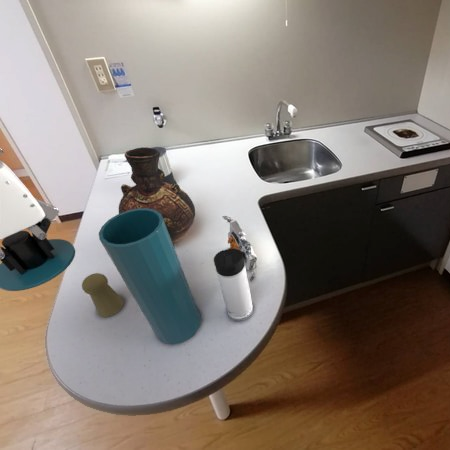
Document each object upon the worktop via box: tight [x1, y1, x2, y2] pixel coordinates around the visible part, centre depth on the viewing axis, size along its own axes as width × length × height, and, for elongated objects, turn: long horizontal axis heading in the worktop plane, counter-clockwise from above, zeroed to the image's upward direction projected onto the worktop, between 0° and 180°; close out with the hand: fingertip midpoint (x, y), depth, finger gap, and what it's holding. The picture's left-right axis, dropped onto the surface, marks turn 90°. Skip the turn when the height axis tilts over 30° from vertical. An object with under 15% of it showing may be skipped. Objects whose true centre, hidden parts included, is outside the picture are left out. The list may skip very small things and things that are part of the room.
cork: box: [81, 272, 125, 318], centre depth 75 cm, size 6×6×11 cm
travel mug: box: [213, 248, 254, 322], centre depth 71 cm, size 6×7×20 cm
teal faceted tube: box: [98, 208, 202, 345], centre depth 64 cm, size 10×10×32 cm
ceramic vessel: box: [118, 146, 196, 244], centre depth 89 cm, size 21×18×30 cm
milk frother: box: [130, 146, 178, 184], centre depth 114 cm, size 14×16×15 cm
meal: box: [222, 215, 258, 281], centre depth 85 cm, size 15×4×13 cm, turn 35°
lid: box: [0, 230, 76, 292], centre depth 50 cm, size 11×11×7 cm
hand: (34, 261), depth 52 cm, fingers closed on lid, 3 cm apart
